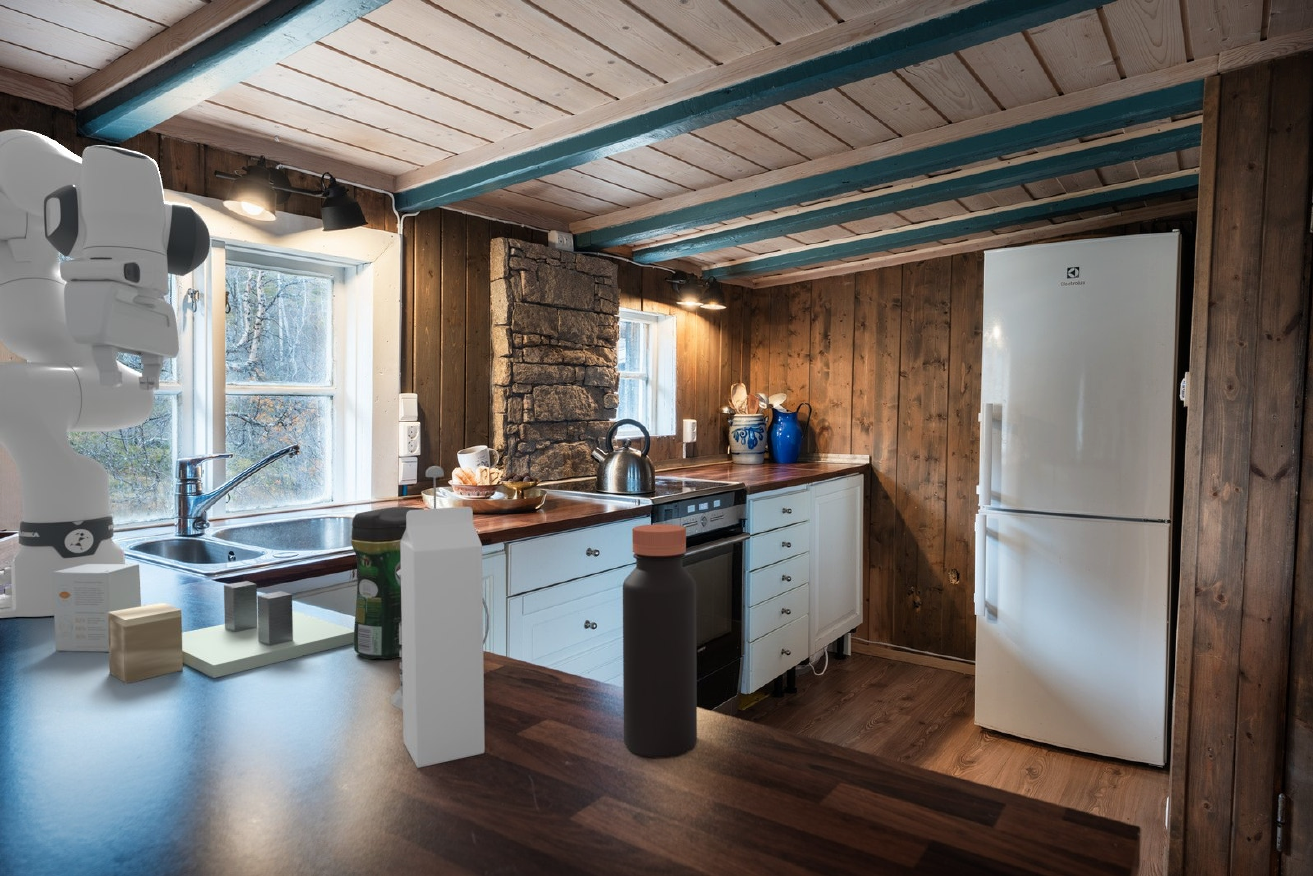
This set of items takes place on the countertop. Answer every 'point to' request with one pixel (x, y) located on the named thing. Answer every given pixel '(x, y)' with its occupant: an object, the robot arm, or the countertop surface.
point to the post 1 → (240, 606)
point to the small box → (91, 603)
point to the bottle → (659, 645)
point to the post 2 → (275, 618)
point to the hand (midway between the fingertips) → (131, 388)
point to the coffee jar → (378, 581)
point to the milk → (442, 636)
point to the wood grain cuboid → (145, 642)
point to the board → (258, 645)
